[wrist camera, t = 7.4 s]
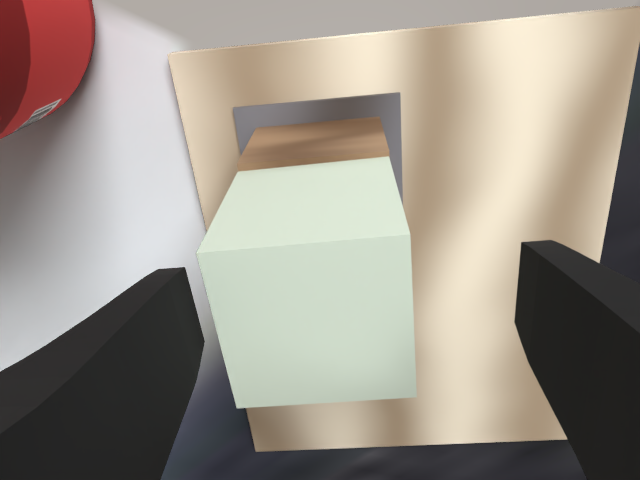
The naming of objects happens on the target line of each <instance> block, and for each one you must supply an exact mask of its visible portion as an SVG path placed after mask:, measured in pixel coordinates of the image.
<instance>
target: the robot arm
mask: <svg viewBox="0 0 640 480" xmlns="http://www.w3.org/2000/svg"><path fill="white" fill-rule="evenodd" d="M514 323H515V326H516V329H517V332H518V335H519V338H520V341H521V344H522V347H523V349H524V352H525V355H526V358H527V360H528V363H529V365H530V367H531V369H532V371H533V373H534V375H535V377H536V379H537V381H538V383H539V385H540V387H541V389H542V391H543V393H544V395H545V396H546V398H547V400H548V402H549V404H550V406H551V408H552V410H553V412H554V414H555V416H556V418H557V420H558V421H559V423H560V425H561V427H562V429H563V431H564V433H565V435H566V437H567V439H568V441H569V443H570V445H571V446H572V448H573V450H574V452H575V454H576V456H577V458H578V460H579V463H580V465H581V467H582V469H583V471H584V473H585V476H586V478H587V480H640V284H639V283H637V282H635V281H633V280H631V279H629V278H627V277H625V276H623V275H621V274H619V273H617V272H615V271H613V270H611V269H609V268H607V267H606V266H604V265H602V264H600V263H598V262H596V261H594V260H592V259H590V258H588V257H587V256H585V255H583V254H581V253H579V252H577V251H575V250H573V249H571V248H569V247H567V246H565V245H563V244H561V243H558V242H556V241H553V240H542V241H529V242H521V251H520V262H519V274H518V285H517V297H516V308H515V320H514ZM204 342H205V341H204V337H203V334H202V330H201V326H200V322H199V318H198V315H197V311H196V307H195V303H194V300H193V296H192V292H191V288H190V284H189V281H188V277H187V273H186V269H185V267H181V268H168V269H158V270H156V271H154V272H152V273H151V274H149V275H147V276H146V277H144V278H143V279H141V280H140V281H138V282H137V283H136V284H134V285H133V286H131V287H130V288H128V289H127V290H126V291H124V292H123V293H121V294H120V295H119V296H117V297H116V298H114V299H113V300H112V301H110V302H109V303H107V304H106V305H105V306H103V307H102V308H100V309H99V310H98V311H96V312H95V313H93V314H92V315H91V316H89V317H88V318H86V319H85V320H83V321H82V322H80V323H79V324H77V325H76V326H74V327H73V328H71V329H70V330H68V331H67V332H65V333H64V334H62V335H61V336H59V337H58V338H56V339H55V340H53V341H52V342H50V343H49V344H47V345H46V346H44V347H42V348H41V349H39V350H37V351H36V352H34V353H32V354H31V355H29V356H27V357H26V358H24V359H22V360H21V361H19V362H17V363H15V364H13V365H12V366H10V367H8V368H6V369H4V370H2V371H1V372H0V480H160V479H161V476H162V473H163V470H164V468H165V465H166V462H167V460H168V457H169V454H170V452H171V449H172V446H173V444H174V441H175V438H176V435H177V433H178V430H179V427H180V425H181V422H182V419H183V417H184V414H185V411H186V408H187V406H188V403H189V400H190V397H191V395H192V392H193V389H194V386H195V383H196V380H197V375H198V371H199V367H200V362H201V357H202V352H203V347H204Z"/></svg>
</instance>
